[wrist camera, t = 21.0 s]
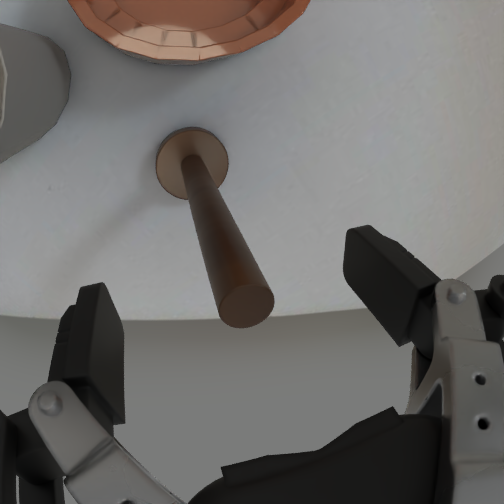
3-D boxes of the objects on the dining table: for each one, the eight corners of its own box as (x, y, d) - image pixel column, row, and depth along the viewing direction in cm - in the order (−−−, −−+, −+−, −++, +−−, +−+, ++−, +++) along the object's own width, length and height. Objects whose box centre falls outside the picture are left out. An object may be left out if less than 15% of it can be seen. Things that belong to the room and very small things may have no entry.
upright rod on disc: (146, 182, 22) (138, 354, 9) (170, 117, 20) (192, 198, 7) (209, 201, 24) (280, 371, 11) (235, 140, 22) (359, 254, 9)
